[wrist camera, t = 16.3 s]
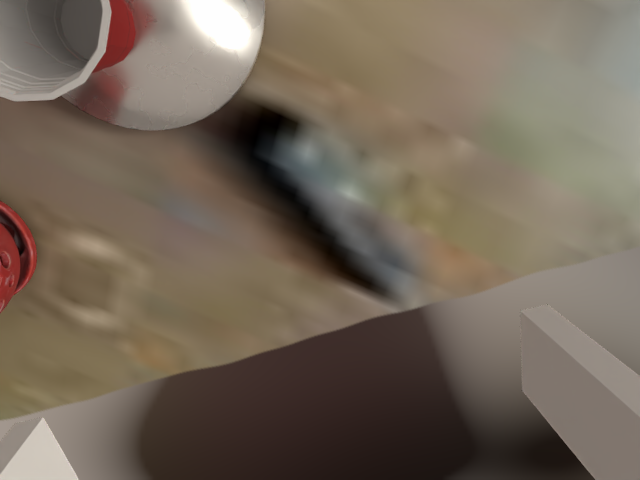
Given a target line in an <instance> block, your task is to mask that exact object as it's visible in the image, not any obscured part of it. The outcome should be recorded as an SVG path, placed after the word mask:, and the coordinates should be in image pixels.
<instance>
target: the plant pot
mask: <svg viewBox="0 0 640 480" xmlns="http://www.w3.org/2000/svg"><path fill="white" fill-rule="evenodd" d="M36 262H37V253H36V245H35V242H34V239H33V236H32V234H31V232H30V230H29V228H28V227H27V225H26V224H25V222H24V221H23V220H22V219H21V217H20V216H19V215H18V214H17V213H16V212H15V211H13V210H12V209H11V208H10V207H9V206H8V205H6V204H5V203H3V202H2V201H0V313H1V312H2V311H3V309H4V308H5V307H6V306H7V304H8V302H9V301H10V299H11V297H12V296H13V295H15V294H16V293H18V292H19V291H20V290H21V289H22V288H23V287H24V286H25V285H26V284H27V283H28V282H29V280H30V279H31V277H32V275H33V273H34V270H35V267H36Z"/></svg>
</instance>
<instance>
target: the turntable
mask: <svg viewBox="0 0 640 480" xmlns="http://www.w3.org/2000/svg"><path fill="white" fill-rule="evenodd" d="M124 1H125V2H126V4H127V6H128V8H129V10H130V11H131V13H132V15H133V20H134V25H135V31H136V35H135V40H134V45H133V48H132V50H131V51H130V52H129V54H128V55H127V56H126V58H125V59H124V60H123V61H121V62H119V63H117V64H115V65H113V66H111V67H108V68H104V69H102V70H100V71H98V72H95V73H92V74H90V76H89V77H88V79H87V80H86V82H85V83H83V84H81V85H80V86H78V87H76V88H74V89H72V90H70V91H68V92H67V93H65V94H63V95H61V96H62V97H63V98H65V99H66V100H67V101H69V102H70V103H72V104H73V105H75V106H76V107H78V108H79V109H81V110H82V111H84V112H86V113H88V114H90V115H92V116H94V117H96V118H98V119H101V120H103V121H106V122H108V123H111V124H114V125H118V126H122V127H126V128H131V129H139V130H165V129H173V128H178V127H182V126H185V125H189V124H192V123H195V122H198V121H200V120H202V119H204V118H207V117H208V116H210V115H212V114H213V113H215V112H216V111H218V110H220V109H221V108H222V107H223V106H224V105H226V104H227V103H228V102H229V101H230V100H231V99H232V98H233V97H234V96H235V95H236V94H237V93H238V91H239V90H240V89H241V88H242V86H243V85H244V83H245V82H246V80H247V79H248V77H249V75H250V73H251V71H252V69H253V67H254V65H255V63H256V60H257V57H258V54H259V52H260V49H261V44H262V39H263V34H264V26H265V0H124Z"/></svg>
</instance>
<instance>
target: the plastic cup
mask: <svg viewBox="0 0 640 480" xmlns="http://www.w3.org/2000/svg"><path fill="white" fill-rule="evenodd" d="M135 35H136V31H135V25H134V20H133V15H132V13H131V11H130V10H129V8H128V6H127V4H126V2H125V1H124V0H0V97H3V98H6V99H9V100H12V101H37V100H54V99H55V98H57V97H59V96H61V95H63V94H65V93H67V92H68V91H70V90H72V89H74V88H76V87H78V86H80V85H81V84H83V83H85V82H86V80H87V79H88V77H89V76H90V74H92V73H95V72H98V71H100V70H102V69H104V68H108V67H111V66H113V65H115V64H117V63H119V62H121V61H123V60H124V59H125V58H126V56H127V55H128V54H129V52H130V51H131V50H132V48H133V45H134V40H135Z"/></svg>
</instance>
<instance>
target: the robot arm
mask: <svg viewBox="0 0 640 480" xmlns="http://www.w3.org/2000/svg"><path fill="white" fill-rule="evenodd" d="M520 320H521V321H520V324H521V359H522V360H521V361H522V391H523V392H524V393H525V394H526V396H527V397H528V398H529V399H530V400H531V401H532V403H533V404H534V405H535V407H536V408H537V409H538V410H539V411H540V413H541V414H542V415H543V416H544V418H545V419H546V420H547V421H548V422H549V424H550V425H551V426H552V427H553V429H554V430H555V431H556V432H557V433H558V435H559V436H560V437H561V438H562V439H563V441H564V442H565V443H566V444H567V446H568V447H569V448H570V449H571V450H572V452H573V453H574V454H575V455H576V456H577V458H578V459H579V460H580V461H581V463H582V464H583V465H584V466H585V467H586V469H587V470H588V471H589V472H590V473H591V475H592V476H593V477H594V478H595V480H640V376H639V375H638V374H636V373H635V372H634V371H633V370H631V369H630V368H629V367H627V366H626V365H625V364H624V363H622V362H621V361H620V360H618V359H617V358H616V357H615V356H613V355H612V354H611V353H609V352H608V351H607V350H605V349H604V348H603V347H601V346H600V345H599V344H598V343H596V342H595V341H594V340H592V339H591V338H590V337H589V336H588V335H586V334H585V333H583V332H582V331H581V330H580V329H578V328H577V327H576V326H574V325H573V324H572V323H571V322H569V321H568V320H567V319H566V318H564V317H563V316H562V315H560V314H559V313H558V312H556V311H555V310H554V309H553V308H551V307H550V306H549V305H548V304H547V305H542V306H538V307H533V308H529V309H525V310H521V311H520ZM0 480H79V479H78V477H77V475H76V474H75V472H74V470H73V468H72V467H71V465H70V464H69V462H68V460H67V458H66V456H65V454H64V453H63V451H62V449H61V447H60V446H59V444H58V442H57V441H56V439H55V437H54V435H53V433H52V432H51V430H50V428H49V426H48V425H47V423H46V421H45V420H44V418H43V417H41V418H37V419H33V420H28V421H24V422H19V423H15V424H14V425H13V426H12V428H11V429H10V430H9V431H8V432H7V433H6V435H5V436H4V437H3V438H2V440H1V441H0Z"/></svg>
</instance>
